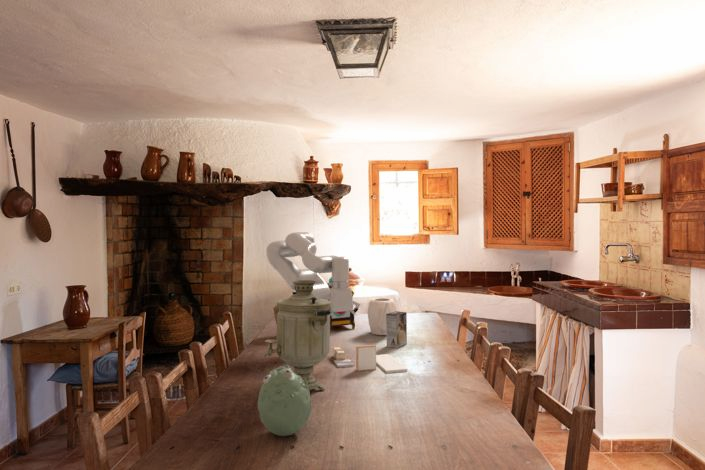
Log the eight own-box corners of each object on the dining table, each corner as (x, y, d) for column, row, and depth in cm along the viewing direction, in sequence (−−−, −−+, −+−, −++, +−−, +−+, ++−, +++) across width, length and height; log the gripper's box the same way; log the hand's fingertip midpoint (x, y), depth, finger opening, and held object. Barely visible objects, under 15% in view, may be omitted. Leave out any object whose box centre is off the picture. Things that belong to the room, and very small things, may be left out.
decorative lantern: (312, 326, 303) (312, 274, 302) (343, 322, 311) (343, 272, 310) (325, 332, 285) (325, 278, 284) (358, 329, 293) (358, 276, 292)
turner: (329, 356, 237) (329, 347, 237) (344, 355, 239) (343, 346, 239) (338, 367, 220) (338, 358, 219) (354, 366, 221) (354, 357, 221)
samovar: (253, 382, 200) (252, 278, 199) (318, 374, 209) (317, 275, 208) (268, 409, 172) (267, 288, 171) (343, 399, 182) (343, 284, 180)
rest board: (386, 373, 211) (386, 370, 211) (369, 357, 235) (369, 355, 235) (407, 371, 214) (407, 368, 214) (388, 356, 237) (388, 354, 237)
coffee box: (396, 342, 263) (396, 310, 262) (407, 344, 259) (407, 312, 258) (386, 346, 255) (386, 313, 255) (397, 348, 251) (397, 315, 251)
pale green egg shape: (316, 422, 162) (316, 358, 161) (305, 449, 143) (305, 376, 142) (266, 420, 163) (266, 357, 162) (249, 447, 144) (249, 375, 143)
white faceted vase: (372, 340, 267) (372, 303, 267) (365, 329, 294) (364, 295, 293) (402, 339, 269) (401, 303, 268) (392, 328, 296) (392, 295, 295)
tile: (357, 371, 214) (357, 347, 214) (356, 369, 216) (356, 345, 216) (376, 369, 216) (376, 345, 216) (374, 368, 219) (374, 344, 218)
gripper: (322, 287, 223) (323, 326, 223) (361, 285, 227) (362, 324, 228) (319, 285, 230) (320, 323, 231) (357, 283, 235) (357, 321, 235)
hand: (341, 323), depth 229 cm, fingers open, 9 cm apart
